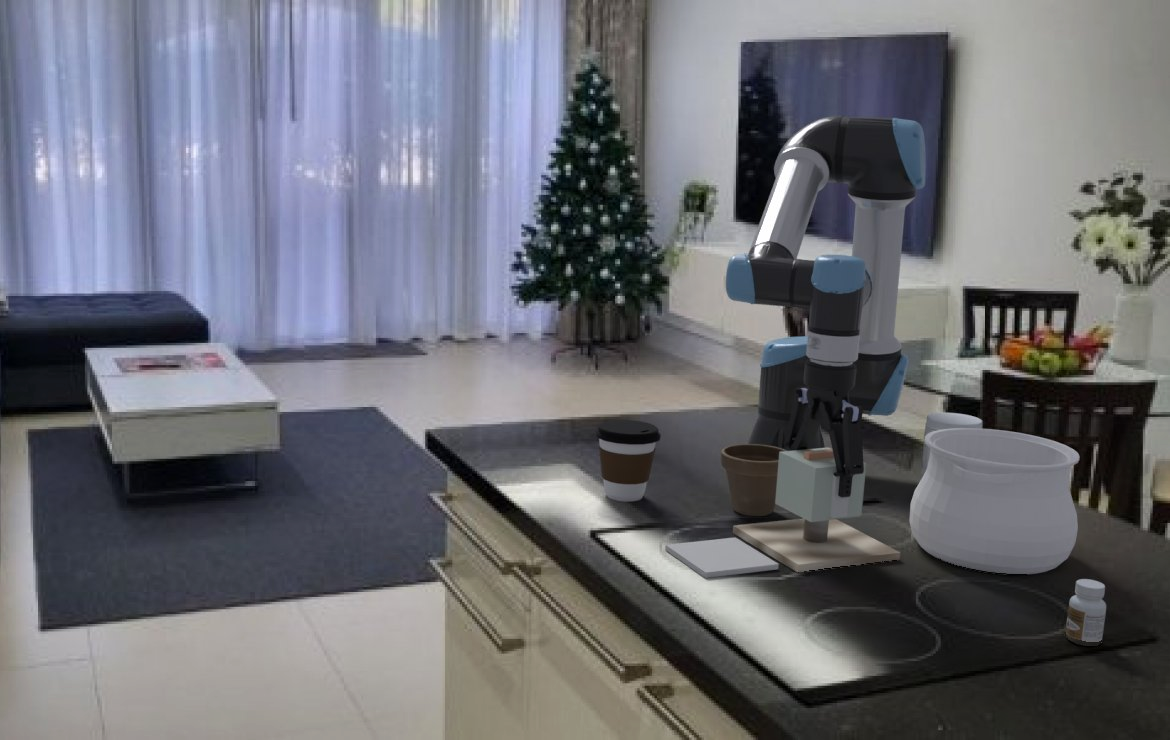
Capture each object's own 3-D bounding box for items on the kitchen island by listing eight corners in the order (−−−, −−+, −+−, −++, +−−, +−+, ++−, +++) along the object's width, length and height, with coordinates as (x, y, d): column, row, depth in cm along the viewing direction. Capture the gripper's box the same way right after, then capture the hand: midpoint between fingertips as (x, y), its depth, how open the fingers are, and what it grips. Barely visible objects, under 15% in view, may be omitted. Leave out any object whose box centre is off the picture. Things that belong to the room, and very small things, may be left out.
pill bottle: (1058, 633, 165) (1066, 577, 164) (1091, 634, 166) (1099, 577, 164) (1074, 647, 161) (1082, 589, 160) (1107, 648, 162) (1115, 590, 160)
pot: (1051, 595, 179) (1066, 480, 176) (883, 557, 192) (894, 448, 188) (1088, 548, 200) (1102, 444, 197) (934, 516, 213) (945, 418, 210)
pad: (665, 549, 189) (665, 544, 189) (735, 542, 194) (735, 537, 194) (705, 577, 179) (705, 572, 179) (778, 569, 184) (778, 563, 184)
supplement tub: (986, 504, 221) (996, 421, 218) (949, 511, 216) (959, 427, 213) (943, 489, 229) (952, 409, 226) (906, 496, 224) (914, 414, 221)
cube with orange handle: (824, 498, 200) (829, 441, 198) (861, 516, 191) (867, 456, 190) (775, 503, 195) (779, 445, 194) (810, 522, 187) (816, 461, 186)
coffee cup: (670, 497, 215) (674, 428, 213) (627, 510, 207) (631, 438, 205) (621, 483, 223) (625, 415, 220) (578, 494, 215) (581, 424, 212)
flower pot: (708, 515, 207) (713, 454, 205) (726, 496, 218) (730, 439, 216) (779, 526, 203) (784, 464, 201) (793, 507, 214) (798, 448, 212)
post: (732, 532, 199) (738, 464, 197) (829, 522, 206) (835, 457, 204) (797, 572, 183) (804, 498, 181) (899, 560, 190) (906, 489, 188)
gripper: (767, 347, 197) (756, 488, 201) (857, 377, 178) (842, 531, 182) (808, 345, 200) (796, 484, 205) (899, 374, 181) (884, 526, 185)
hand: (818, 506), depth 193 cm, fingers closed on cube with orange handle, 9 cm apart
